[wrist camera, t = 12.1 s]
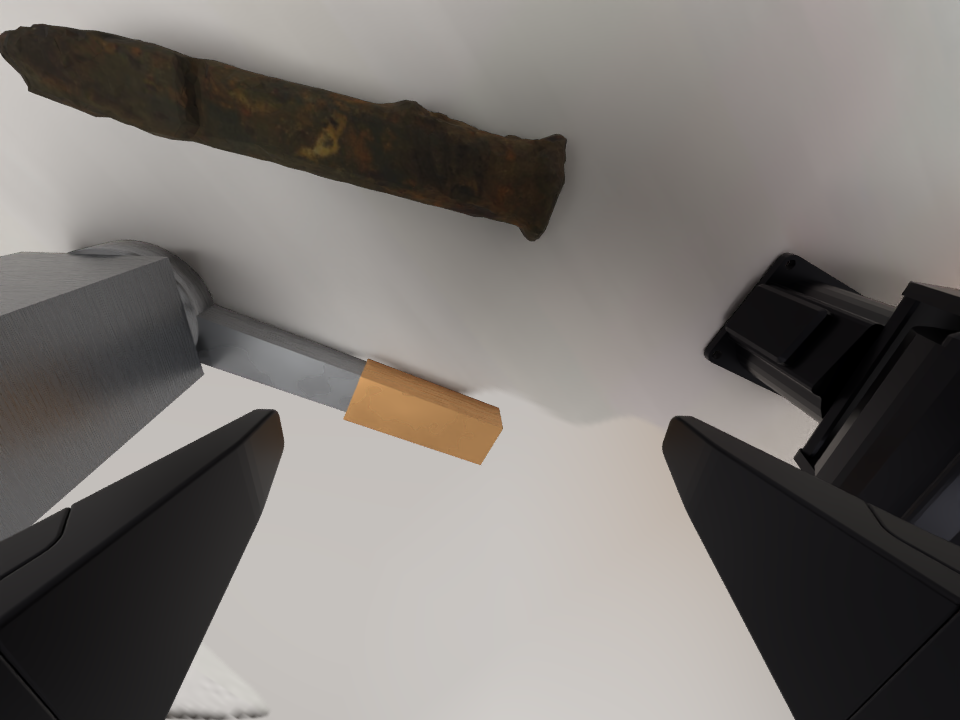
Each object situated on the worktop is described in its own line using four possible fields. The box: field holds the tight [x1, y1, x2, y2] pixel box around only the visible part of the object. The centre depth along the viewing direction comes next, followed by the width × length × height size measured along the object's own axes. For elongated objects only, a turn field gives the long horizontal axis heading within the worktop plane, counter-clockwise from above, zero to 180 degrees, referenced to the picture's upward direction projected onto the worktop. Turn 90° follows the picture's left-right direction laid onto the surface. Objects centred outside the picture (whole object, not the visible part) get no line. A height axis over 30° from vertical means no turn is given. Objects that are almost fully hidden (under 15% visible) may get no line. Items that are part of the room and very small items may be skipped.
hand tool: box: [0, 24, 567, 241], centre depth 15 cm, size 19×4×5 cm, turn 74°
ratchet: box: [68, 240, 503, 465], centre depth 19 cm, size 22×6×5 cm, turn 64°
